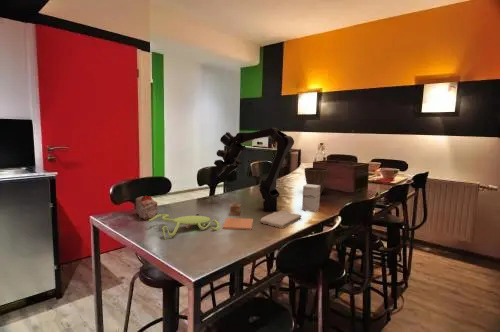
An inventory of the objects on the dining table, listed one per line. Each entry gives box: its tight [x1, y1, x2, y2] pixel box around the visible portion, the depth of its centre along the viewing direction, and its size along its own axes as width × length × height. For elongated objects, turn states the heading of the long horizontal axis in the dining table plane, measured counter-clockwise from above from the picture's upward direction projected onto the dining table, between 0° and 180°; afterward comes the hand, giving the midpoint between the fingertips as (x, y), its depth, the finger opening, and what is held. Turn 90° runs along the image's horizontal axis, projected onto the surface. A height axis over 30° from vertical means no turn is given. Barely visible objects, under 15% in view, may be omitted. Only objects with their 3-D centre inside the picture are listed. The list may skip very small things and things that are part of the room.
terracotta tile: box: [222, 217, 254, 231], centre depth 127 cm, size 12×12×1 cm
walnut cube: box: [229, 203, 242, 217], centre depth 142 cm, size 5×5×5 cm
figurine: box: [148, 213, 220, 240], centre depth 122 cm, size 18×27×6 cm
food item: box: [135, 195, 159, 221], centre depth 137 cm, size 14×8×10 cm, turn 39°
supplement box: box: [301, 183, 321, 213], centre depth 152 cm, size 7×7×13 cm
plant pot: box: [304, 167, 329, 195], centre depth 188 cm, size 15×15×16 cm
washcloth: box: [260, 210, 302, 229], centre depth 133 cm, size 12×18×3 cm, turn 143°
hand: (222, 175), depth 165 cm, fingers open, 9 cm apart
